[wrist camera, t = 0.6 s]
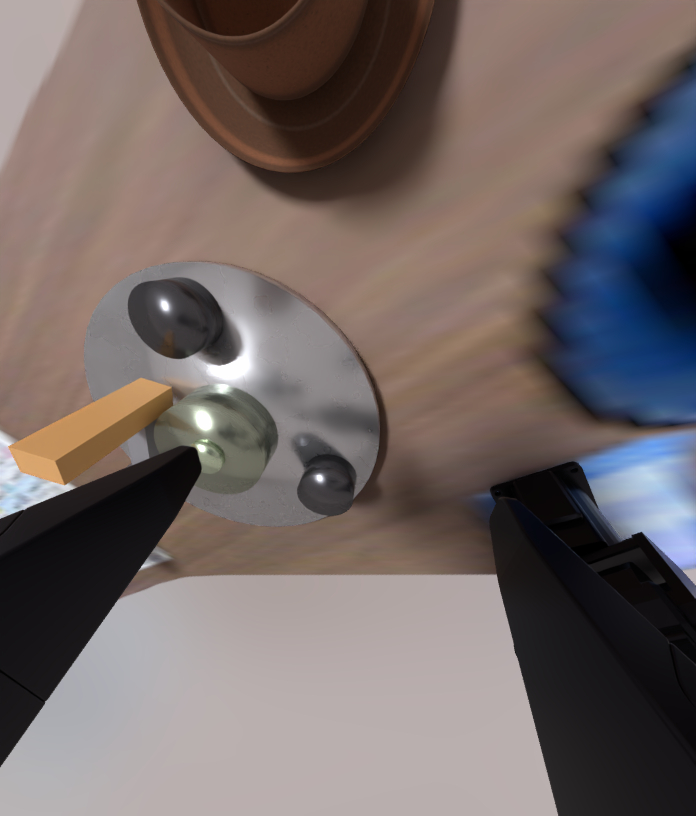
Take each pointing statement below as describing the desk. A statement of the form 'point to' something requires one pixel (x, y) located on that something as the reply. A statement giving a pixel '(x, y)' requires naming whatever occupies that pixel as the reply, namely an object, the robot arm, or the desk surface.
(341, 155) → the cup and saucer
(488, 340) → the desk surface
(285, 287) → the levelling plate
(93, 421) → the grey and tan piece
